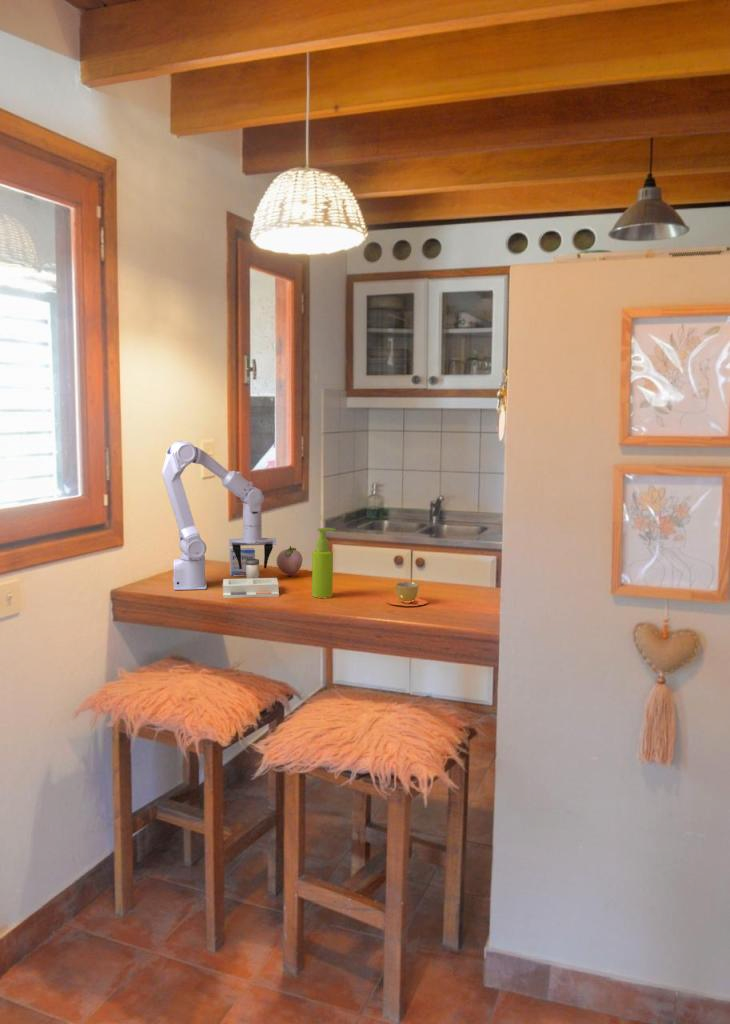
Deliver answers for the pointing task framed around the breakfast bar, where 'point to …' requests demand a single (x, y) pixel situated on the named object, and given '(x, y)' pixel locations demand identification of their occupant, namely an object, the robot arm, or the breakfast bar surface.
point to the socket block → (250, 588)
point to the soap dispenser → (322, 567)
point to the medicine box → (245, 554)
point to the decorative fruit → (289, 561)
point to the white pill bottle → (252, 568)
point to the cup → (407, 591)
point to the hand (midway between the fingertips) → (252, 568)
